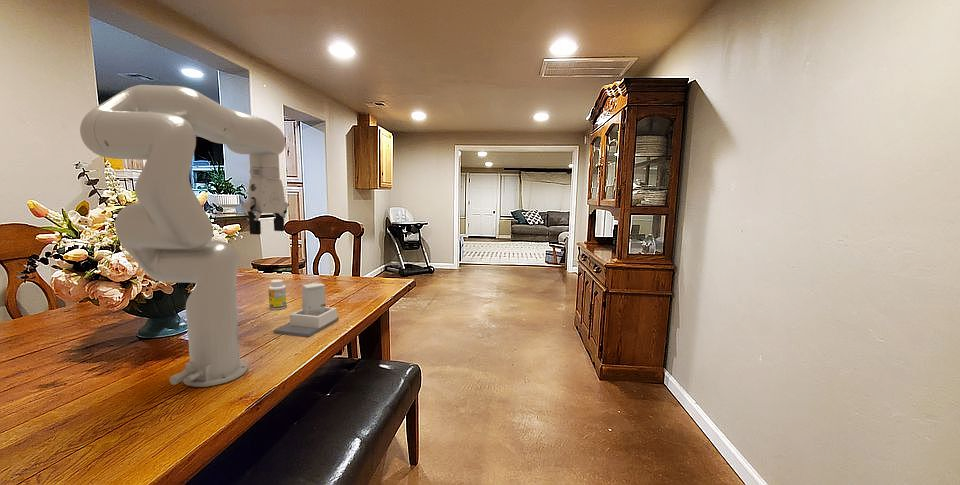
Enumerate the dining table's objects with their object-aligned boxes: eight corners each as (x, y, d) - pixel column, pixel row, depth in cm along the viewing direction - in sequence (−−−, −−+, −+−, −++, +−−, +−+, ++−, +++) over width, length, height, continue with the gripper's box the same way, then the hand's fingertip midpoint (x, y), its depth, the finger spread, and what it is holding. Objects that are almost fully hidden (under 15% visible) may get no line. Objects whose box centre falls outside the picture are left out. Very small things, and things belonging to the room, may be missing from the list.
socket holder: (308, 337, 116) (308, 322, 115) (273, 333, 118) (272, 318, 117) (338, 320, 131) (338, 307, 131) (306, 316, 134) (306, 304, 133)
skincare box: (307, 325, 123) (305, 287, 121) (302, 321, 126) (300, 284, 124) (326, 321, 127) (325, 284, 125) (321, 317, 130) (320, 282, 129)
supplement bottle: (269, 306, 144) (268, 279, 142) (286, 305, 146) (285, 278, 145) (269, 311, 139) (268, 282, 137) (286, 309, 141) (285, 281, 140)
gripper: (253, 173, 105) (256, 236, 107) (296, 175, 122) (298, 230, 124) (229, 172, 106) (233, 235, 109) (274, 175, 123) (277, 229, 126)
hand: (267, 232), depth 116 cm, fingers open, 9 cm apart
